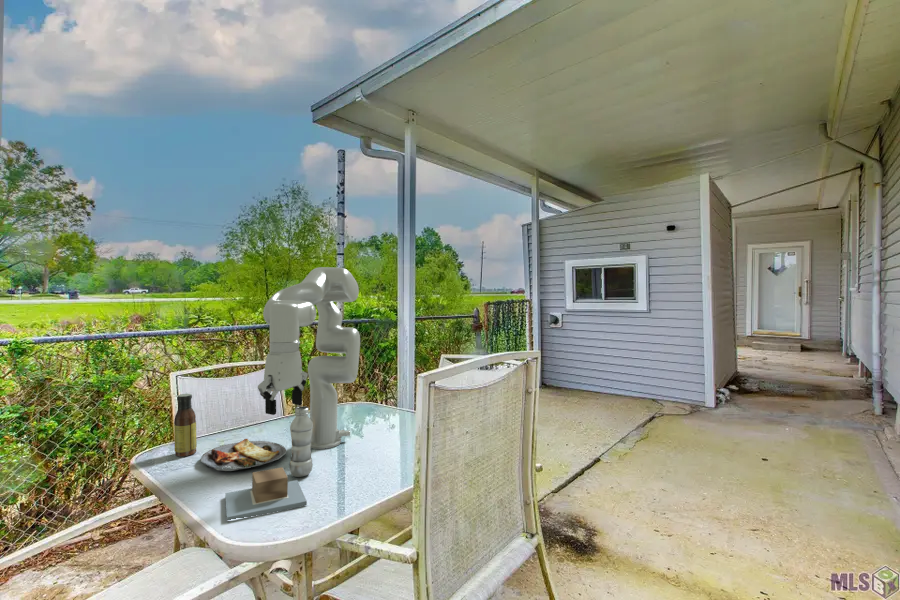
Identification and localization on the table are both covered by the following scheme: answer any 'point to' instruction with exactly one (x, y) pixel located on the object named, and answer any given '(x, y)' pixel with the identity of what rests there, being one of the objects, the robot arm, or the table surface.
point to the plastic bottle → (301, 443)
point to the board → (245, 505)
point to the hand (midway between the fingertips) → (284, 409)
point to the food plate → (243, 455)
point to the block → (269, 484)
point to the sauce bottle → (185, 427)
